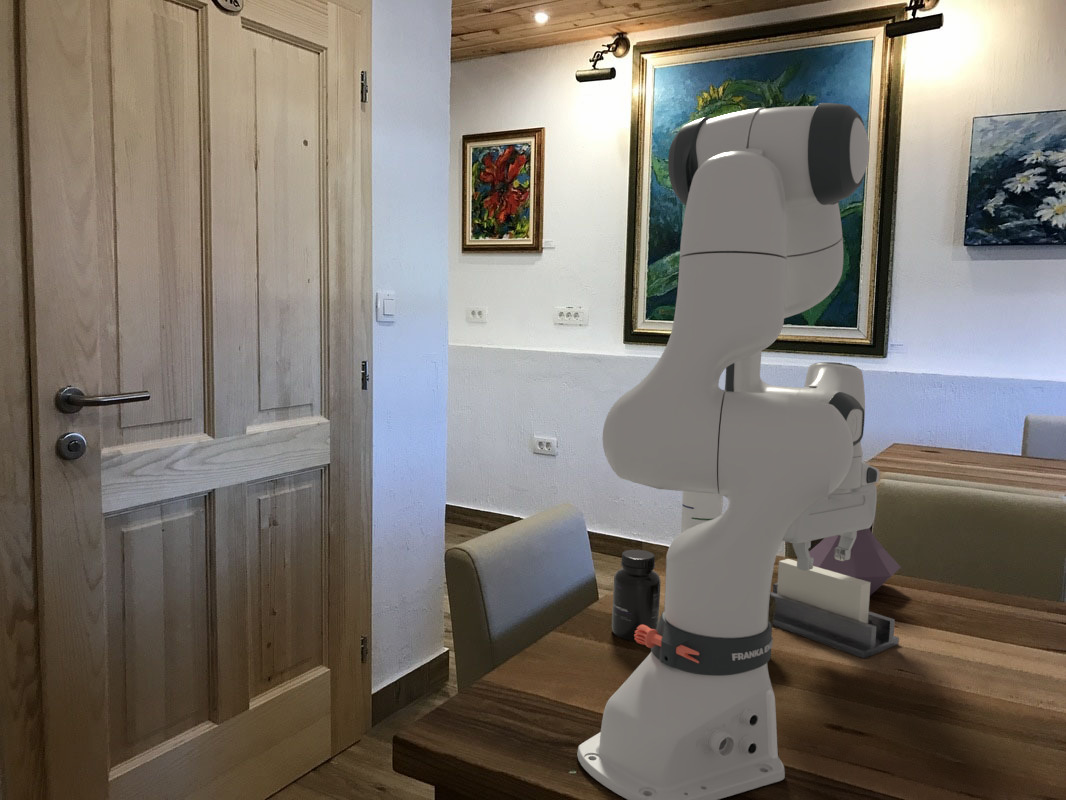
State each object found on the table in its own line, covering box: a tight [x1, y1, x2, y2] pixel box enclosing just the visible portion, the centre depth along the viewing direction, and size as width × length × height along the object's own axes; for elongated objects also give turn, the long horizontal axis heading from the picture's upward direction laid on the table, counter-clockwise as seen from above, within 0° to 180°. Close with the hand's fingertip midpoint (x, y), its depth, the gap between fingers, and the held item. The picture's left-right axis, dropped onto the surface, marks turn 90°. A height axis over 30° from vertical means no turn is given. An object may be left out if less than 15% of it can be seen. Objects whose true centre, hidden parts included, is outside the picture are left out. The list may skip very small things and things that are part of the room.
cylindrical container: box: [680, 491, 724, 534], centre depth 154 cm, size 7×7×25 cm
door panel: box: [777, 558, 871, 624], centre depth 129 cm, size 14×2×8 cm, turn 38°
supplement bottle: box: [611, 549, 662, 642], centre depth 126 cm, size 7×7×12 cm
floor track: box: [770, 582, 900, 660], centre depth 129 cm, size 20×9×4 cm, turn 38°
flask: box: [809, 527, 902, 596], centre depth 149 cm, size 16×16×20 cm
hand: (823, 564), depth 128 cm, fingers open, 8 cm apart
